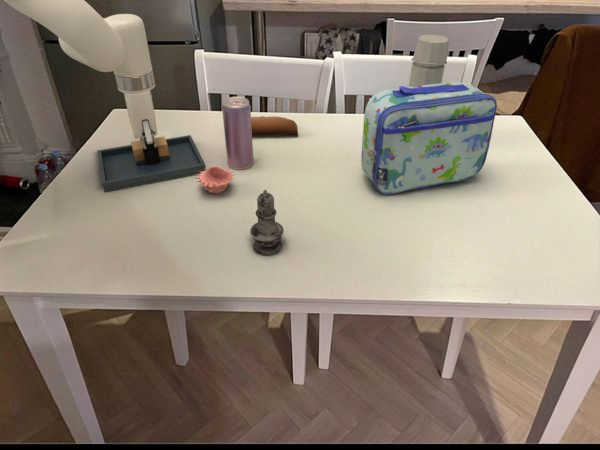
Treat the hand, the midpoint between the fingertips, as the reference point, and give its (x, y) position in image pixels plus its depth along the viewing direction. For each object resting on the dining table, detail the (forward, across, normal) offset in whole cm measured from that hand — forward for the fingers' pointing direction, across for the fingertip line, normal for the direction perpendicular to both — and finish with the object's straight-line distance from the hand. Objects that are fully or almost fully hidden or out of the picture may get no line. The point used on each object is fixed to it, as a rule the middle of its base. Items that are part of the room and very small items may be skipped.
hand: (151, 157), depth 107 cm
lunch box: (+1, +30, +53) cm, 61 cm away
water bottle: (+1, +14, +63) cm, 64 cm away
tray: (+1, +2, 0) cm, 2 cm away
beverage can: (+1, +9, +19) cm, 21 cm away
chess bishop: (+1, +39, +15) cm, 42 cm away
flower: (+1, +18, +11) cm, 21 cm away
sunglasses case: (+1, -5, +29) cm, 29 cm away
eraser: (0, 0, 0) cm, 0 cm away
